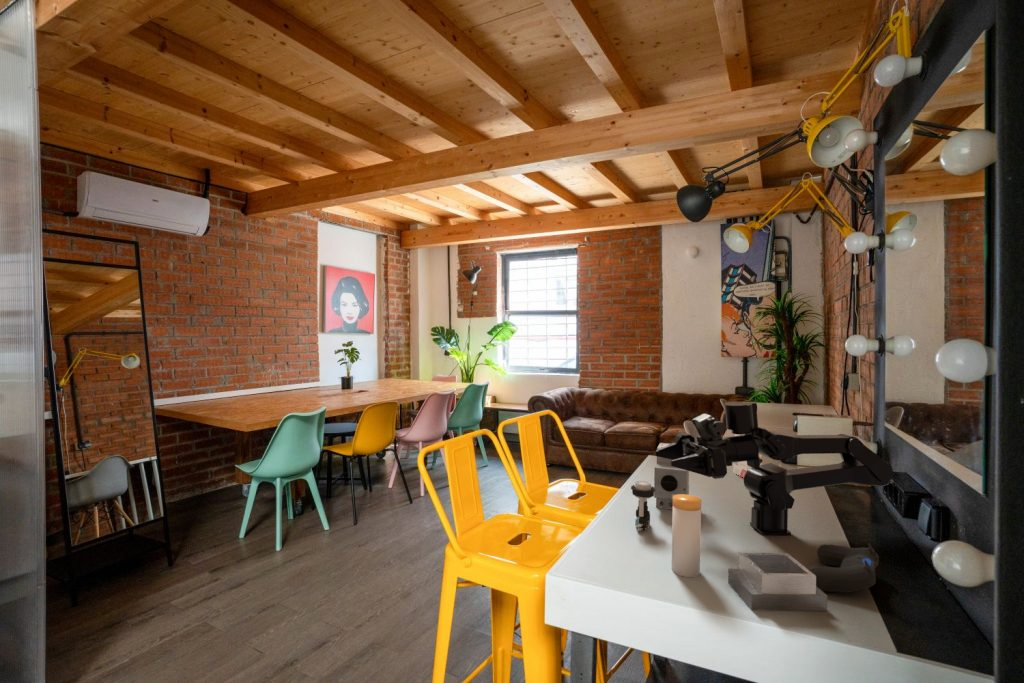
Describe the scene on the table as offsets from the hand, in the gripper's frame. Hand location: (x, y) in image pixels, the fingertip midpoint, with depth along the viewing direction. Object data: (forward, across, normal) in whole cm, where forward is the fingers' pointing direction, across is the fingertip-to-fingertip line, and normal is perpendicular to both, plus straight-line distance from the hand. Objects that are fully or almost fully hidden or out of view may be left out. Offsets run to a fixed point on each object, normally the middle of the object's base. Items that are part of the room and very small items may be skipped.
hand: (662, 458), depth 114 cm
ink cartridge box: (-43, -43, +22) cm, 65 cm away
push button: (+5, -3, +16) cm, 17 cm away
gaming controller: (-22, +24, +20) cm, 38 cm away
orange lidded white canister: (+4, +18, +16) cm, 25 cm away
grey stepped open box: (-6, +28, +17) cm, 34 cm away
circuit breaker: (-7, -16, +18) cm, 25 cm away
